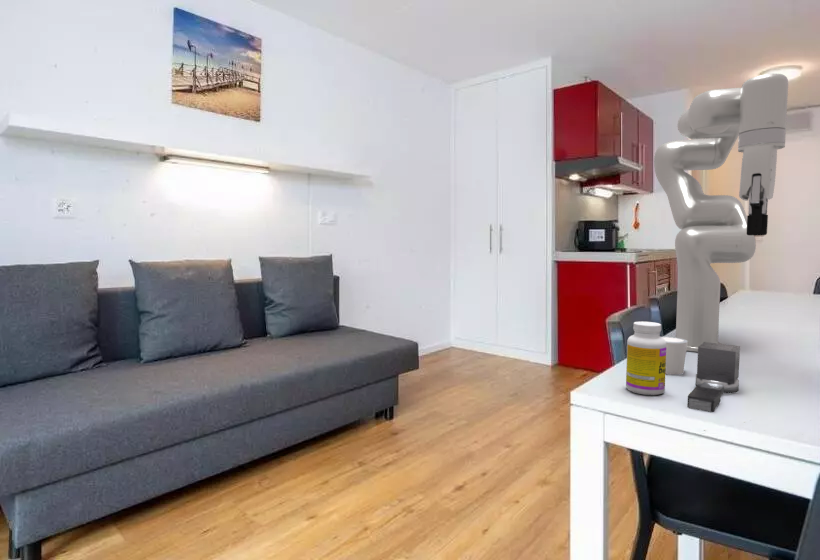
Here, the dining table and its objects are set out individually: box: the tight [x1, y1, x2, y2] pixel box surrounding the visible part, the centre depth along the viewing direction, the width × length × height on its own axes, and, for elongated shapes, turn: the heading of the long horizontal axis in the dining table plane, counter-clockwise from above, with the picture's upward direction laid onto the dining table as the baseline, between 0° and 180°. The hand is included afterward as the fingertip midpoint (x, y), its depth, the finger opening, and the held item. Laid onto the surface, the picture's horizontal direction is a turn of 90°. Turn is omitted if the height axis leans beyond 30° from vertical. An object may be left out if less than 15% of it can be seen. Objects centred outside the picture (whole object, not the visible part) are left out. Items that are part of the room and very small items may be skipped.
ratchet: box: [686, 373, 740, 413], centre depth 88 cm, size 20×7×6 cm, turn 139°
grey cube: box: [696, 342, 741, 384], centre depth 93 cm, size 6×6×6 cm
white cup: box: [661, 336, 688, 376], centre depth 104 cm, size 7×7×7 cm
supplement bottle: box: [625, 321, 667, 396], centre depth 91 cm, size 7×7×13 cm
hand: (756, 235), depth 97 cm, fingers closed
